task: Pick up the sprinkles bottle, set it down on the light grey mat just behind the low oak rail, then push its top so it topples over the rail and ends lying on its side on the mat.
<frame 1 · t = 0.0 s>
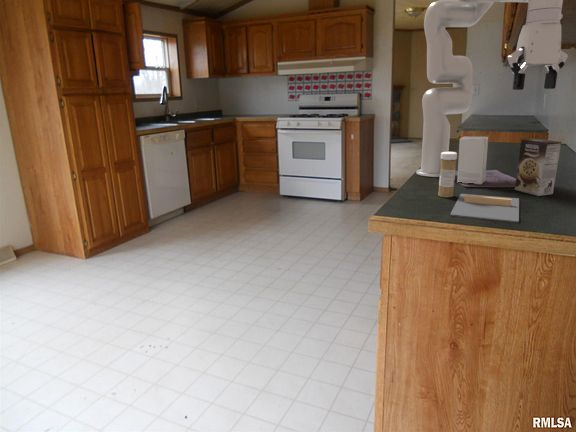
hand: (533, 89, 114), 31 cm above the table, tool pointing down, fingers open, 9 cm apart
sprinkles bottle: (445, 196, 133), on the table
skincare box: (470, 182, 151), on the table
mat: (486, 207, 120), on the table
coffee box: (533, 192, 136), on the table
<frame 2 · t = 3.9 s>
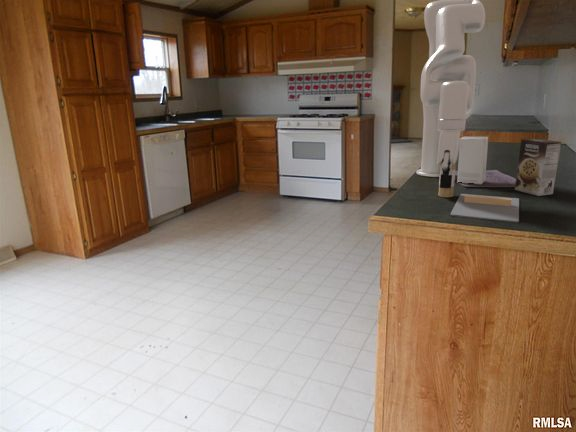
hand: (446, 185, 132), 3 cm above the table, tool pointing down, fingers closed on sprinkles bottle, 4 cm apart
sprinkles bottle: (445, 196, 133), on the table, touching gripper
everything else where it was.
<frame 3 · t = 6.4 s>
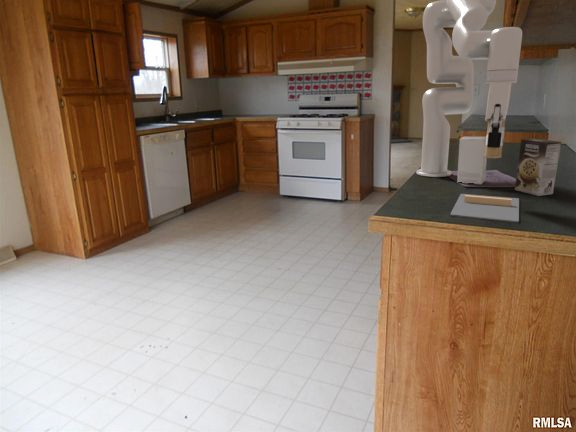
hand: (494, 145, 121), 16 cm above the table, tool pointing down, fingers closed on sprinkles bottle, 4 cm apart
sprinkles bottle: (492, 158, 122), point 13 cm above the table, touching gripper
everything else where it was.
when the fingers open (5 cm above the table, at t = 9.0 s): sprinkles bottle stays where it is, resting on mat.
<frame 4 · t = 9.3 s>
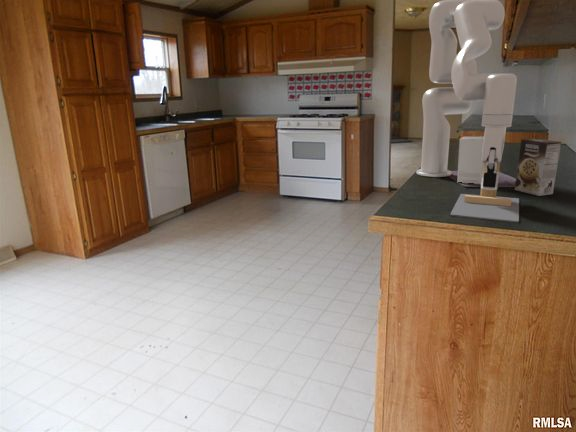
hand: (489, 183, 124), 5 cm above the table, tool pointing down, fingers open, 6 cm apart
sprinkles bottle: (487, 200, 126), resting on mat
everything else where it was.
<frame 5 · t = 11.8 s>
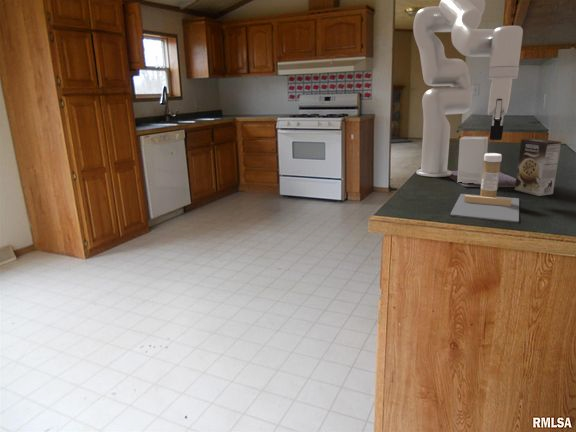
hand: (495, 139, 128), 17 cm above the table, tool pointing down, fingers closed
nothing on the table moved.
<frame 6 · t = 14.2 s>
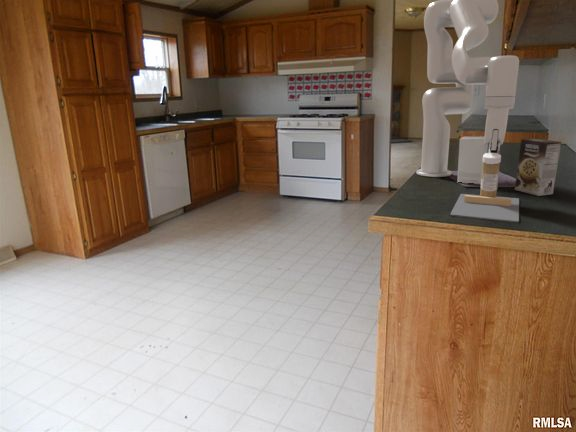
hand: (492, 168, 125), 9 cm above the table, tool pointing down, fingers closed
sprinkles bottle: (487, 199, 126), point 1 cm above the table, touching gripper, mat
everything else where it was.
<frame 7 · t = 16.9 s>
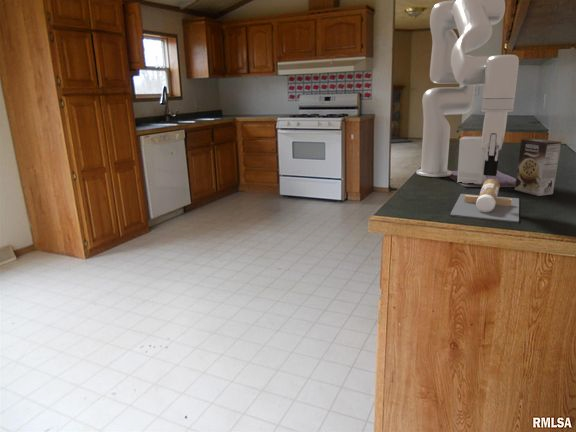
hand: (489, 175, 118), 9 cm above the table, tool pointing down, fingers closed
sprinkles bottle: (491, 185, 124), point 5 cm above the table, touching mat
everything else where it was.
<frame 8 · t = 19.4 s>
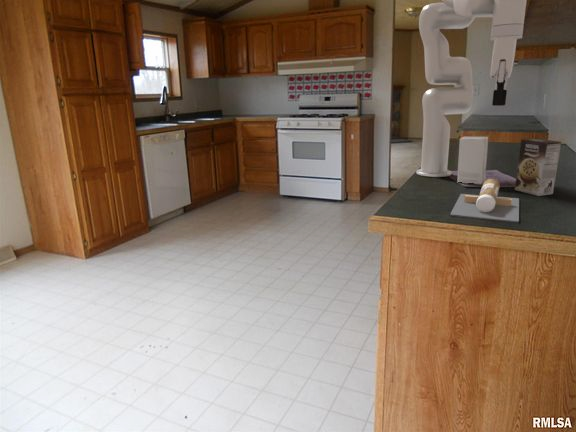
hand: (498, 105, 119), 27 cm above the table, tool pointing down, fingers closed
nothing on the table moved.
at the end: sprinkles bottle tilted 100°; sprinkles bottle inside the target area (9.7 cm from its centre), point 4.9 cm above the table; the gripper is holding nothing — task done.
